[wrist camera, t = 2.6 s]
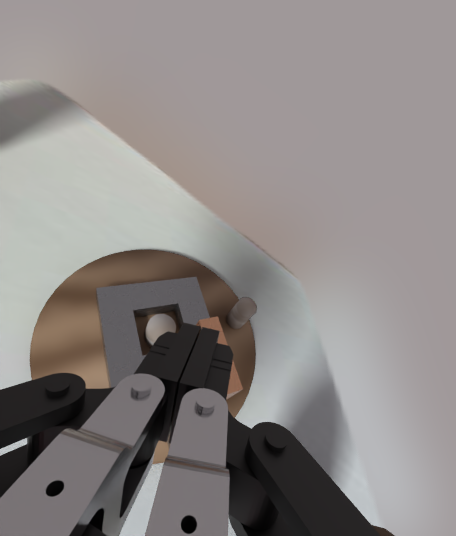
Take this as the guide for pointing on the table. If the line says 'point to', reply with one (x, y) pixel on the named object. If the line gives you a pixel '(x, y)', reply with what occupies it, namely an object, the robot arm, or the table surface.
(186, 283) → the handled square nut
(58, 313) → the post base
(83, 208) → the table surface
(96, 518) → the robot arm
